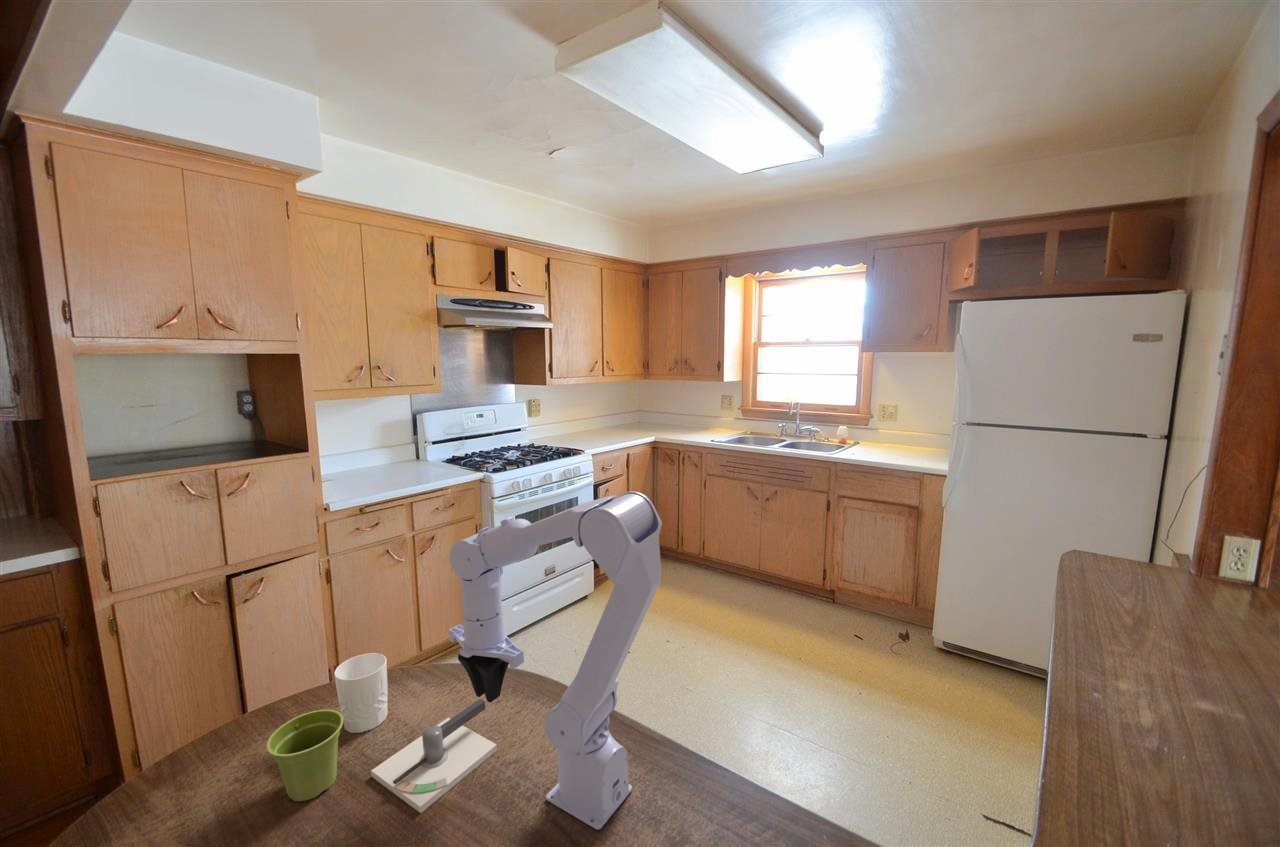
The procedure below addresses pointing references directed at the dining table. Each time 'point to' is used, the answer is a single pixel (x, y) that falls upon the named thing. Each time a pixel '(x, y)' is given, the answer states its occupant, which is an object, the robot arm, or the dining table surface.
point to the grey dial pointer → (443, 736)
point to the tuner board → (433, 767)
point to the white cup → (362, 691)
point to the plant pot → (307, 752)
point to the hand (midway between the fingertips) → (488, 695)
